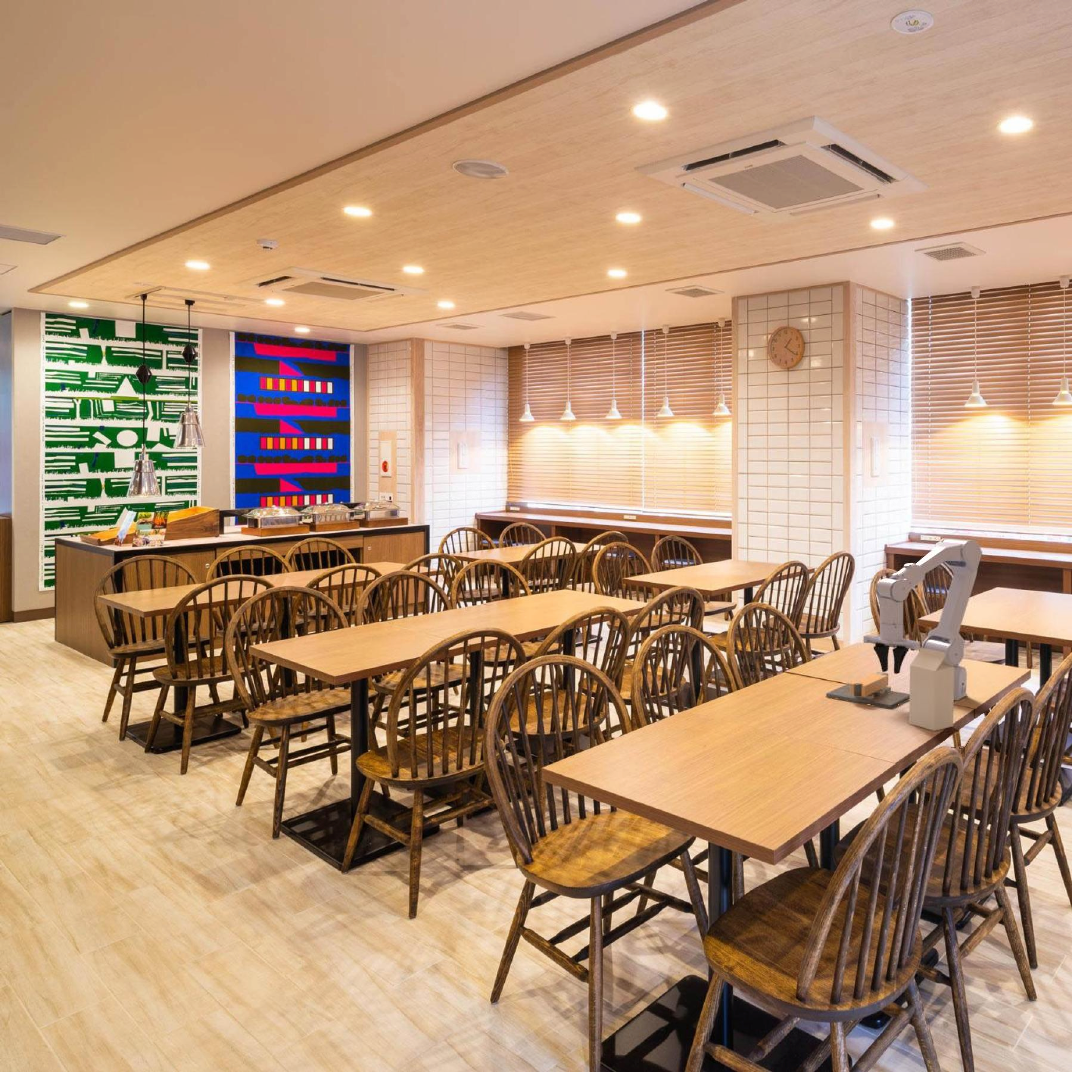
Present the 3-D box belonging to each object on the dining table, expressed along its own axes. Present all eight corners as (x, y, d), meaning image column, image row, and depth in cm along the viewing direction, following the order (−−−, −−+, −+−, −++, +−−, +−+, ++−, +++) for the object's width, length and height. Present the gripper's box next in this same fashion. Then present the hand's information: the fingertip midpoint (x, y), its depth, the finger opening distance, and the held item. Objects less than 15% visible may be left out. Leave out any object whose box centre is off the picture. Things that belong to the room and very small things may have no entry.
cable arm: (877, 681, 240) (877, 671, 239) (891, 684, 237) (891, 673, 237) (849, 694, 227) (849, 684, 227) (863, 697, 224) (863, 686, 224)
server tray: (916, 695, 232) (916, 689, 232) (890, 708, 220) (890, 703, 220) (854, 684, 245) (854, 679, 245) (826, 696, 232) (826, 691, 232)
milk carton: (934, 731, 200) (935, 654, 199) (908, 724, 207) (910, 649, 205) (953, 726, 204) (954, 651, 202) (927, 719, 210) (929, 645, 208)
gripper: (858, 621, 226) (858, 670, 227) (913, 628, 216) (912, 679, 217) (869, 618, 231) (869, 666, 232) (923, 624, 221) (922, 674, 222)
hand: (890, 672), depth 225 cm, fingers open, 3 cm apart
